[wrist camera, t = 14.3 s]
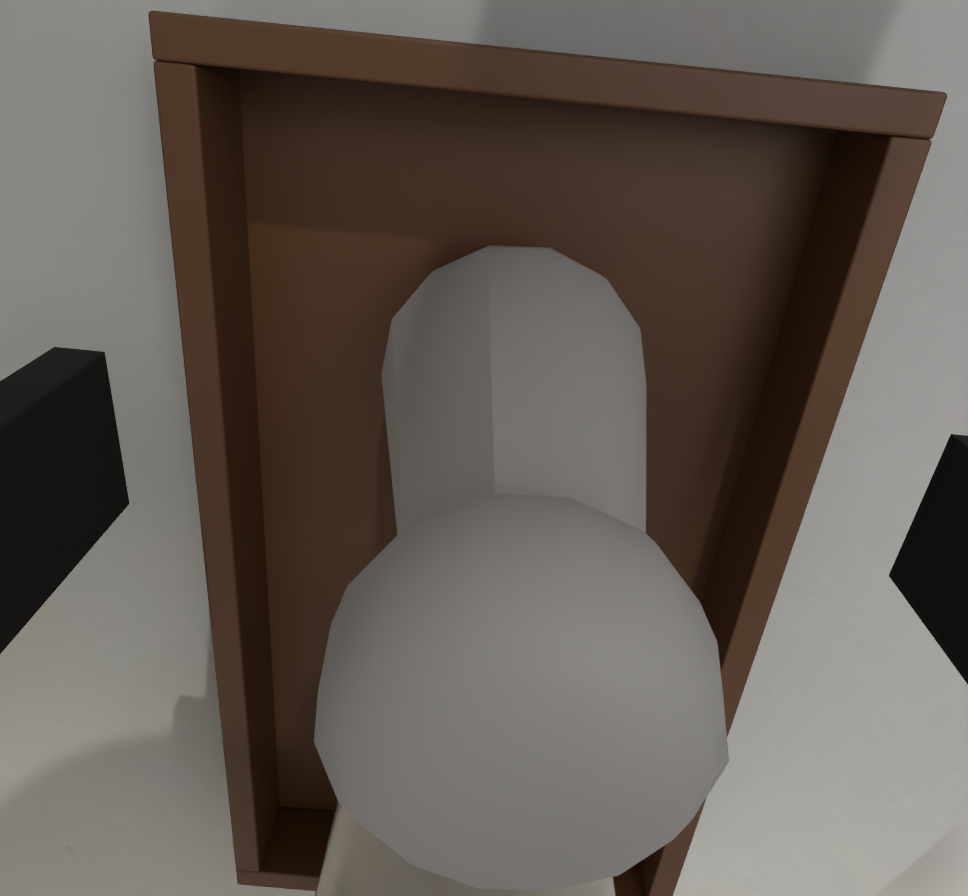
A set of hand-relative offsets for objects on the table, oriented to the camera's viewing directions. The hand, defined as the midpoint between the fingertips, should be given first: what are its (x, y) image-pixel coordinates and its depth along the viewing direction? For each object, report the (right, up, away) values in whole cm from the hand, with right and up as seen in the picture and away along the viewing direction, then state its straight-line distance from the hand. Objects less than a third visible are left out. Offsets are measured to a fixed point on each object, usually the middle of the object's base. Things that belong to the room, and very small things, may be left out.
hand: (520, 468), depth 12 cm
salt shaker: (0, +3, +7) cm, 7 cm away
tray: (0, -2, +10) cm, 10 cm away
